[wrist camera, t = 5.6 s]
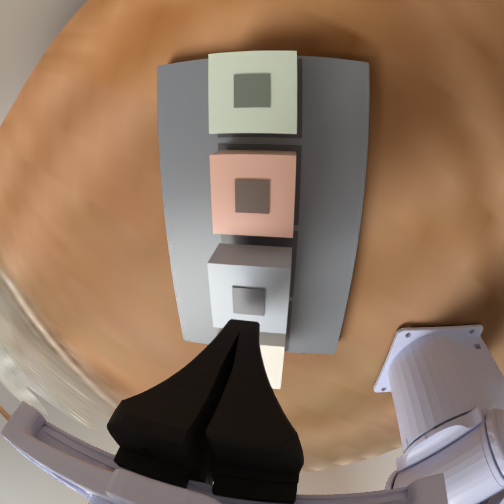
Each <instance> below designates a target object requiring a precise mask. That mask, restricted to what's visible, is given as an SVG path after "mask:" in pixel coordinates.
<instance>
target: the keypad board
mask: <svg viewBox="0 0 504 504" xmlns="http://www.w3.org/2000/svg"><path fill="white" fill-rule="evenodd" d="M157 100H158V134H159V154H160V169H161V182H162V194H163V204H164V214H165V223H166V232H167V240H168V248H169V255H170V262H171V269H172V276H173V282H174V289H175V295H176V301H177V306H178V312H179V318H180V323H181V328H182V333H183V338H184V341H190V342H197V343H204V344H210V343H211V341H212V340H213V339H214V338H215V337H216V335H217V332H218V330H219V328H217V327H213V320H212V310H211V300H210V289H209V278H208V267H207V263H208V261H209V259H210V258H211V256H212V254H213V253H214V251H215V249H216V248H217V246H218V245H219V243H223V244H241V245H259V246H277V247H292V260H291V277H290V291H289V303H288V315H287V327H286V336H285V348H284V352H295V353H314V354H335V352H336V348H337V344H338V340H339V336H340V332H341V327H342V323H343V319H344V314H345V310H346V305H347V300H348V295H349V290H350V285H351V280H352V274H353V269H354V263H355V257H356V251H357V244H358V238H359V231H360V223H361V216H362V207H363V199H364V189H365V179H366V167H367V153H368V135H369V100H370V82H369V63H368V62H361V61H354V60H346V59H338V58H328V57H315V56H297V134H280V133H222V134H209V106H208V59H199V60H191V61H184V62H178V63H172V64H166V65H160V66H158V68H157ZM221 150H278V151H296V180H295V205H294V225H293V238H285V237H267V236H248V235H228V234H213V224H212V204H211V182H210V154H213V153H215V152H218V151H221Z"/></svg>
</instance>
